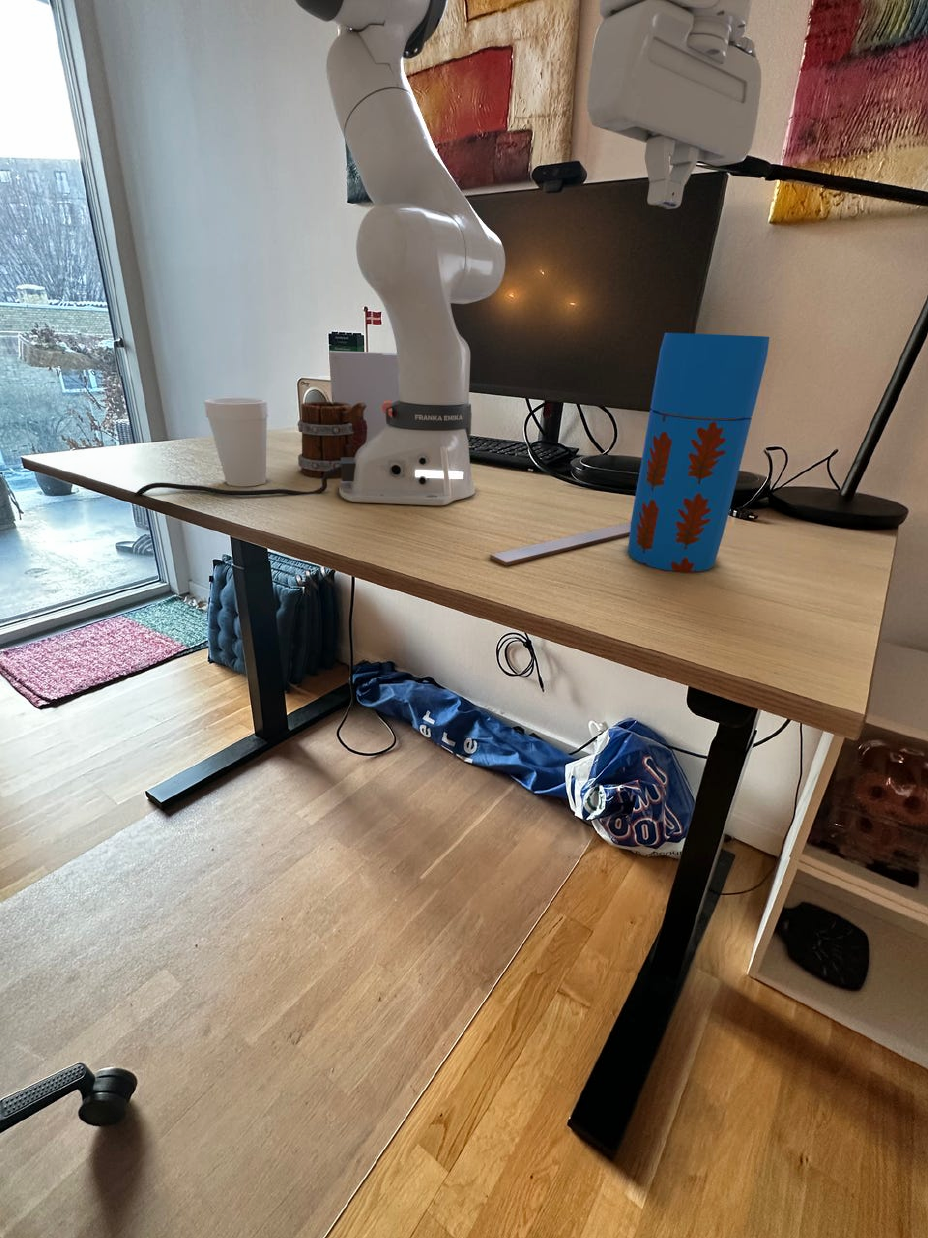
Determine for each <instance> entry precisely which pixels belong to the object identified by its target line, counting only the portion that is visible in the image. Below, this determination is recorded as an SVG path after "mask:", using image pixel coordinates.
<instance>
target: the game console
mask: <svg viewBox="0 0 928 1238" xmlns="http://www.w3.org/2000/svg"><path fill="white" fill-rule="evenodd" d="M328 363H329V377H330V380H329V381H330V395H331V397H330V398H331V403H332V404H333V402H341V403H347V404H350V405H351V407H353V406H354V405H356V404H357V403H365V404H366V406H367V407H366V408H365V410H364V411H363V414H364V420H366V423H367V428H368V429H367V439H366V442H367V441H369V440H370V439H371V438H372V437H374V436H375V435H376V434H377V433H379V432H380V431H381V430H382V429H383V428H385V427H386V426H387V425H388V424H387V423H386V414H385V413H384V412H383V410H382V407H383V406H382V404H384V402H385V401H390V402H392V403H394V402H395V401H397V400H399V389H398V362H397V352H375V351H373V352H371V351H370V352H369V351H337V350H328Z"/></svg>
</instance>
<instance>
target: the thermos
mask: <svg viewBox="0 0 928 1238" xmlns="http://www.w3.org/2000/svg"><path fill="white" fill-rule="evenodd" d="M769 345H770V336H764V335H763V336H762V335H743V334H739V335H738V334H714V333H713V334H711V333H688V332H687V333H685V332H682V333H681V332H665V333H664V336H663V339H662V343H661V346H660V350H659V355H658V361H657V367H656V373H655V379H654V385H653V391H652V396H651V402H650V408H649V409H650V410H649V414H648V420H647V426H646V430H645V431H646V432H645V436H644V437H645V438H644V443H643V449H642V455H641V460H640V467H639V473H638V479H637V485H636V490H635V497H634V503H633V509H632V515H631V519H630V520H631V521H630V522H631V528H630V535H629V536H628V546H627V547H628V549H627V552H628V555H629V557H631V558H632V559H633V560H635V561H636V562H639V563H641V564H643V565H645V566H647V567H652V568H655V569H660V570H663V571H671V572H679V573H696V572H702V571H708V570H710V569H712V568H713V567H714V566H715V563H716V560H717V556H718V554H719V553H718V552H719V550H720V546H721V544H722V540H723V537H724V533H725V530H726V525H727V521H728V517H729V513H730V509H731V506H732V501H733V497H734V493H735V488H736V484H737V481H738V477H739V472H740V469H741V464H742V460H743V457H744V452H745V448H746V444H747V439H748V435H749V431H750V427H751V424H752V420H753V415H754V411H755V407H756V403H757V399H758V396H759V395H758V394H759V391H760V386H761V383H762V378H763V374H764V371H765V366H766V363H767V362H766V361H767V357H768V354H769V353H768V352H769Z"/></svg>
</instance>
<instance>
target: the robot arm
mask: <svg viewBox="0 0 928 1238" xmlns="http://www.w3.org/2000/svg"><path fill="white" fill-rule="evenodd" d="M294 1H295V3H296V4H297V5H298V6H299V7H300V8H301V9H303V10H304V11H305V12H306V13H307V14H309V15H311V16H313V17H315V18H317V19H318V20H321V21H322V22H326V23H328V22H333V23H335V24H338V25H341V33H339V34H338V35H337V36H336V37H335V39H334V40H333V42H332V43H331V44H330V47H329V50H328V53H327V56H326V60H325V61H326V63H325V72H326V73H325V74H326V80H327V85H328V89H329V93H330V97H331V102H332V104H333V108H334V112H335V115H336V118H337V121H338V124H339V127H340V130H341V133H342V136H343V138H344V141H345V143H346V146H347V148H348V150H349V152H350V156H351V158H352V160H353V162H354V165H355V168H356V170H357V173H358V175H359V177H360V180H361V182H362V185H363V187H364V189H365V192H366V194H367V196H368V197H369V199H370V200H371V202H372V203H373V205H375V206H374V207H372V208H371V209H370V210H368V211H367V213H366V214H365V215H364V217H363V219H362V221H361V222H360V224H359V227H358V231H357V234H356V241H355V253H356V260H357V264H358V267H359V271H360V273H361V275H362V277H363V278H364V280H365V281H366V283H367V284H368V285H369V286H370V287H371V288H372V289H373V291H374V292H375V294H376V295H377V296H378V298H379V299H380V301H381V303H382V305H383V308H384V310H385V313H386V314H387V318H388V320H389V323H390V326H391V329H392V333H393V337H394V342H395V349H396V353H397V362H398V389H399V400H397V401H395V402H394V403H392V402H390V401H385V402H384V404H382V406H383V407H382V410H383V412H384V413H385V414H386V423H387V424H388V425H387V426H386V427H385V428H383V429H382V430H381V431H380V432H379V433H377V434H376V435H375V436H374V437H372V438H371V439H370V440H369V441H367V442H366V443H365V444H364V445H362V446H361V447H360V448H359V449H358V451H357V453H356V455H355V457H341V466H340V467H337V468H335V469H332V470H330V471H328V472H326V473H325V474H324V476H322V477H321V487H319V488H317V489H315V490H312V491H301V490H295V489H286V488H270V489H252V490H250V489H249V490H247V489H246V490H239V489H238V490H233V489H222V488H221V489H220V488H214V487H210V486H204V485H197V484H196V485H195V484H180V483H172V482H153V483H152V482H151V483H148V484H146V485H144V486H142V487H141V488H139V489H138V490H137V491H136V492H135V494H134V496H136V497H140V496H143V495H144V494H145V493H146V492H148V491H150V490H154V489H160V488H161V489H162V488H163V489H172V490H173V489H175V490H180V491H181V490H183V491H198V492H199V491H200V492H206V493H211V494H216V495H222V496H235V497H236V496H237V497H238V496H242V497H243V496H247V497H249V496H266V495H267V496H268V495H288V496H302V495H318V494H322V493H324V492H325V491H326V490H327V487H328V479H329V478H328V477H329V476H331V475H333V474H335V473H338V472H340V471H341V474H342V477H341V481H340V483H339V486H338V487H339V489H338V492H339V495H340V497H341V498H342V499H344V500H346V501H349V502H354V503H372V504H373V503H374V504H397V505H418V506H445V505H446V506H447V505H449V504H450V503H452V502H454V501H457V500H458V501H459V500H463V499H466V498H469V497H471V496H473V495H475V493H476V488H475V485H474V481H473V475H472V468H471V461H470V449H469V448H470V447H469V440H470V439H471V434H472V421H473V420H472V419H473V416H472V414H473V412H472V404H471V403H470V378H471V377H470V376H471V350H470V347H469V345H468V343H467V341H466V340H465V339H464V337H463V336H462V335H461V334H460V332H459V330H458V328H457V325H456V321H455V319H454V314H453V311H452V304H459V305H466V304H471V303H474V302H478V301H481V300H485V299H487V298H489V297H490V296H492V295H493V294H494V293H495V292H496V291H497V290H498V288H499V287H500V285H501V283H502V281H503V278H504V275H505V270H506V253H505V249H504V246H503V244H502V242H501V240H500V238H499V237H498V236H497V234H495V233H494V232H493V231H492V230H491V229H490V228H489V227H488V226H487V225H486V224H485V223H484V222H483V220H482V219H481V218H480V217H479V216H478V214H477V212H476V211H475V210H474V208H473V207H472V205H471V203H470V202H469V201H468V199H467V198H466V197H465V195H464V193H463V192H462V191H461V188H460V187H459V186H458V185H457V183H456V181H455V179H454V178H453V177H452V175H451V174H450V172H449V171H448V169H447V167H446V166H445V164H444V163H443V161H442V159H441V157H440V155H439V153H438V151H437V149H436V147H435V144H434V142H433V139H432V137H431V135H430V132H429V130H428V127H427V125H426V123H425V121H424V118H423V116H422V113H421V110H420V107H419V106H418V102H417V100H416V98H415V95H414V94H413V90H412V89H411V86H410V84H409V81H408V79H407V76H406V73H405V69H404V59H407V60H409V59H413V58H415V57H418V56H419V55H420V54H421V53H422V52H423V49H424V48H425V44H426V42H428V41H429V40H430V39H431V38H432V36H433V35H434V34H435V33H436V30H437V29H438V27H439V25H440V24H441V21H442V19H443V17H444V15H445V13H446V9H447V6H448V3H449V0H294ZM752 3H753V0H599V5H598V7H599V15H600V17H601V18H602V19H603V20H602V21H601V22H600V23H599V25H598V27H597V30H596V33H595V36H594V39H593V40H594V41H593V46H592V52H591V60H590V67H589V74H588V84H587V94H586V108H587V112H588V116H589V120H590V122H591V124H592V125H593V126H594V127H597V128H600V129H601V130H602V129H603V130H606V131H609V132H612V133H615V134H618V135H621V136H624V137H626V138H630V139H633V140H636V141H638V142H641V143H645V152H644V162H645V167H646V173H647V177H648V178H647V179H648V183H649V184H648V185H649V186H648V193H647V199H646V200H647V201H646V202H647V204H648V205H650V206H654V207H660V208H664V209H667V210H671V209H677V208H678V207H680V206H681V204H682V200H683V194H684V191H685V185H686V184H687V183H688V181H689V179H690V177H691V175H692V174H693V172H694V170H695V168H696V166H697V164H698V161H699V162H701V163H702V162H703V163H706V164H707V165H708V164H709V165H711V166H714V167H721V166H727V165H733V164H737V163H742V162H743V161H744V160H745V159H746V158H747V156H748V154H749V153H750V151H751V149H752V147H753V144H754V143H753V142H754V138H755V133H756V127H757V125H756V124H757V120H758V119H757V118H758V111H759V106H760V99H761V98H760V96H761V89H762V69H761V65H760V63H759V59H758V58H757V54H756V51H755V46H756V45H755V42H754V41H753V40H752V39H751V38H750V37H748V36H744V35H745V33H746V31H747V28H748V24H749V19H750V13H751V8H752ZM670 166H672V168H671V169H670Z"/></svg>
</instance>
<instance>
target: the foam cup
mask: <svg viewBox="0 0 928 1238" xmlns="http://www.w3.org/2000/svg"><path fill="white" fill-rule="evenodd" d="M203 403H204V410H205V416H206V418H207V419H208V422H209V427H210V429H211V434H212V437H213V440H214V444H215V447H216V451H217V454H218V458H219V461H220V465H221V468H222V471H223V475H224V478H225V479H224V480H225V481H226V484H227V485H229V486H233V487H255V486H260V485H263V484H265V483H266V479H267V434H268V433H267V431H268V430H267V429H268V428H267V425H268V423H267V422H268V421H267V420H268V417H269V414H268V404H267V399H262V398H256V397H255V398H254V397H215V398H208V399H204V401H203Z"/></svg>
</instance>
